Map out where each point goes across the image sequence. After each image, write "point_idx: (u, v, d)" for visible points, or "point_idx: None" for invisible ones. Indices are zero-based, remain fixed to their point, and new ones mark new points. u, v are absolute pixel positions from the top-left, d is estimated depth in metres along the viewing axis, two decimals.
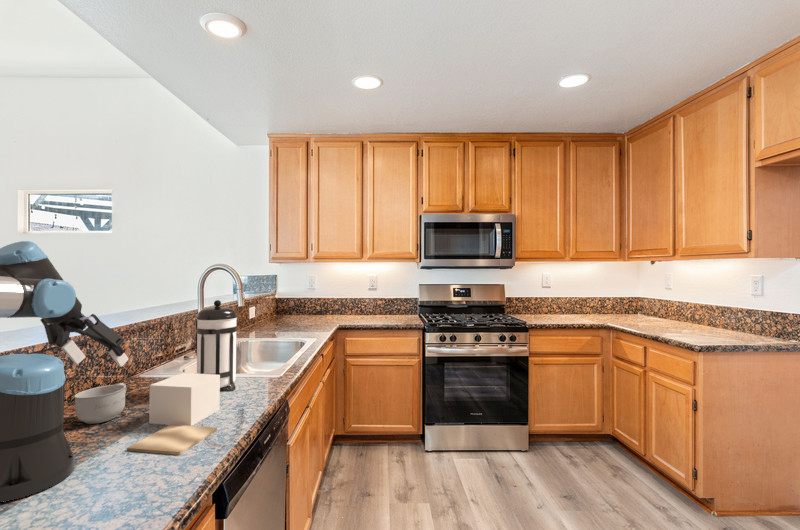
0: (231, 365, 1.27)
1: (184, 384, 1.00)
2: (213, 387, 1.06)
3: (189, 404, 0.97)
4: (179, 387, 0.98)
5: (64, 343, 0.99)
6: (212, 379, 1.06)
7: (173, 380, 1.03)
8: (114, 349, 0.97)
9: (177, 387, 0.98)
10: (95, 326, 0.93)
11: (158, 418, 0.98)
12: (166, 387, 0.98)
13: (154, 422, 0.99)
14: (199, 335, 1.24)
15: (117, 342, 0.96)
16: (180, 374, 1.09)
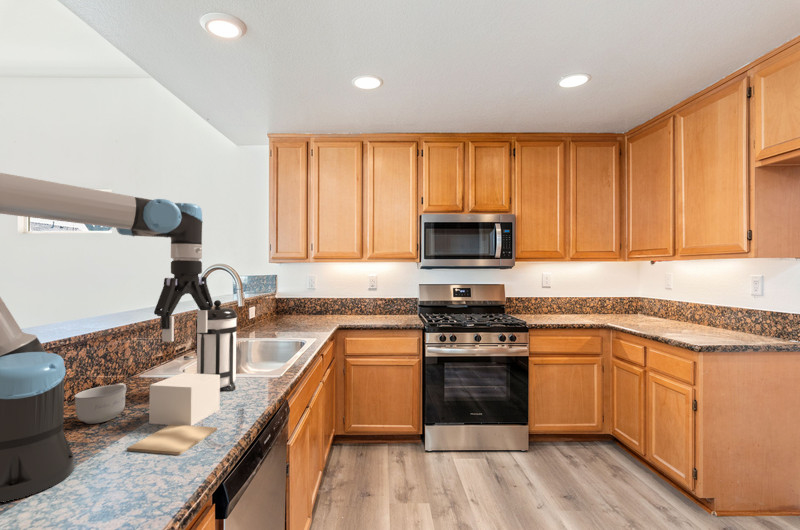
0: (231, 365, 1.27)
1: (184, 384, 1.00)
2: (213, 387, 1.06)
3: (189, 404, 0.97)
4: (179, 387, 0.98)
5: (202, 309, 1.11)
6: (212, 379, 1.06)
7: (173, 380, 1.03)
8: None
9: (177, 387, 0.98)
10: (165, 287, 0.97)
11: (158, 418, 0.98)
12: (166, 387, 0.98)
13: (154, 422, 0.99)
14: (199, 335, 1.24)
15: (157, 310, 0.95)
16: (180, 374, 1.09)
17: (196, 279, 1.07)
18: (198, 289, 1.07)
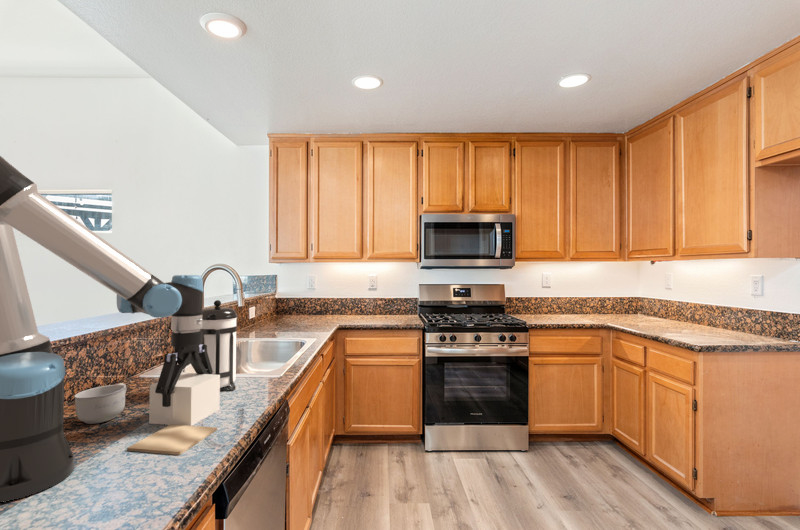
0: (231, 365, 1.27)
1: (184, 384, 1.00)
2: (213, 387, 1.06)
3: (189, 404, 0.97)
4: (179, 387, 0.98)
5: None
6: (212, 379, 1.06)
7: None
8: None
9: (177, 387, 0.98)
10: (165, 363, 0.97)
11: (158, 418, 0.98)
12: None
13: (154, 422, 0.99)
14: None
15: (159, 389, 0.95)
16: (180, 374, 1.09)
17: (196, 348, 1.07)
18: (198, 359, 1.06)
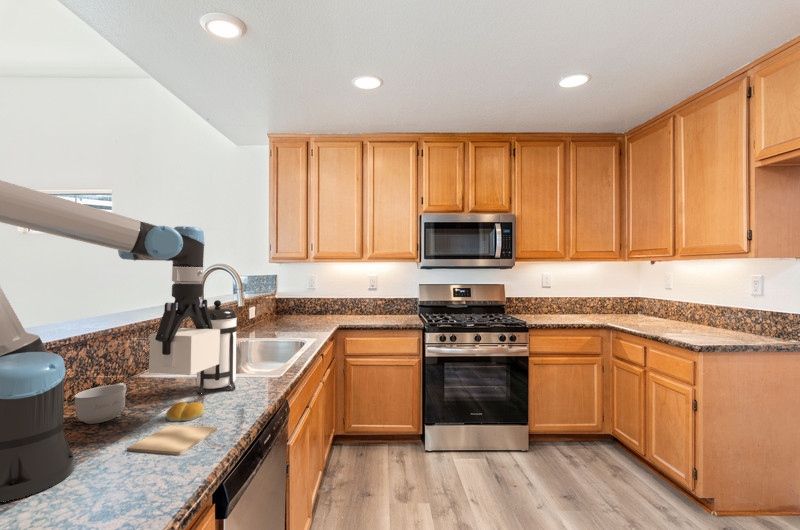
0: (231, 365, 1.27)
1: (184, 334, 1.00)
2: (213, 340, 1.06)
3: (189, 353, 0.97)
4: (179, 336, 0.98)
5: None
6: (212, 332, 1.06)
7: None
8: None
9: (177, 336, 0.98)
10: (166, 312, 0.97)
11: (158, 367, 0.99)
12: None
13: (154, 371, 0.99)
14: None
15: (159, 336, 0.95)
16: (180, 328, 1.09)
17: (197, 302, 1.07)
18: (198, 312, 1.07)
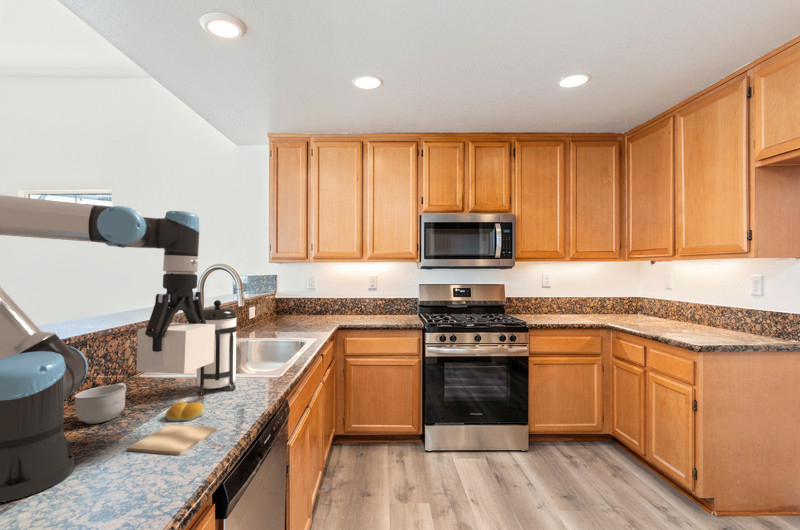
0: (231, 365, 1.27)
1: (177, 329, 0.91)
2: (208, 336, 0.98)
3: (183, 350, 0.89)
4: (172, 331, 0.89)
5: None
6: (207, 327, 0.97)
7: None
8: None
9: (169, 331, 0.89)
10: (157, 304, 0.88)
11: (147, 365, 0.89)
12: None
13: (142, 370, 0.89)
14: None
15: (149, 331, 0.86)
16: (170, 323, 1.00)
17: (190, 294, 0.98)
18: (192, 305, 0.98)
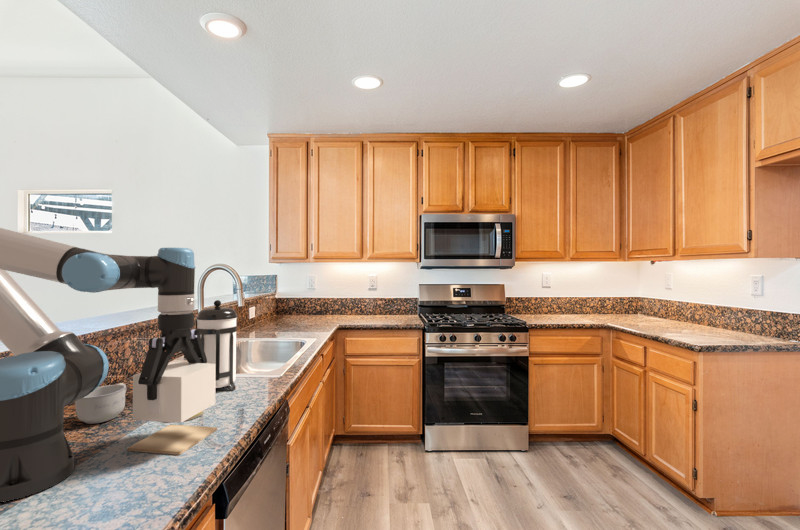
0: (231, 365, 1.27)
1: (173, 374, 0.85)
2: (208, 378, 0.92)
3: (179, 397, 0.83)
4: (167, 377, 0.84)
5: None
6: (206, 368, 0.91)
7: None
8: None
9: (165, 377, 0.84)
10: (150, 350, 0.83)
11: (143, 413, 0.84)
12: None
13: (138, 418, 0.84)
14: None
15: (142, 379, 0.81)
16: (170, 363, 0.95)
17: (188, 333, 0.92)
18: (190, 345, 0.92)
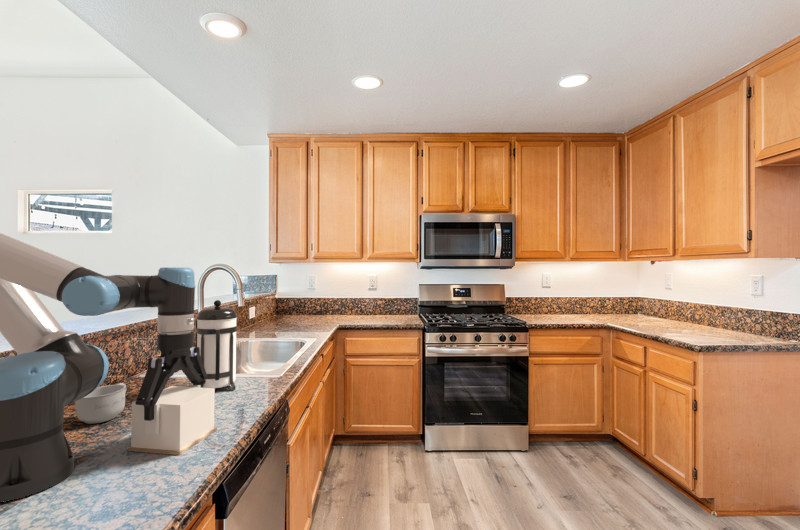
0: (231, 365, 1.27)
1: (172, 401, 0.85)
2: (207, 403, 0.92)
3: (178, 425, 0.83)
4: (166, 405, 0.83)
5: (194, 383, 0.97)
6: (205, 394, 0.91)
7: (160, 395, 0.89)
8: None
9: (164, 405, 0.83)
10: (149, 370, 0.83)
11: (142, 441, 0.84)
12: None
13: (137, 445, 0.84)
14: (199, 335, 1.24)
15: (140, 400, 0.80)
16: (169, 388, 0.95)
17: (187, 352, 0.92)
18: (189, 364, 0.92)
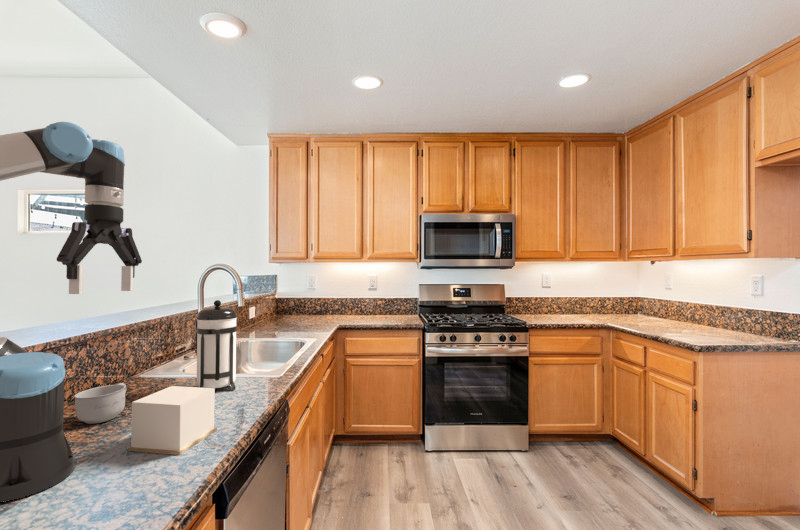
0: (231, 365, 1.27)
1: (172, 401, 0.85)
2: (207, 403, 0.92)
3: (178, 425, 0.83)
4: (166, 405, 0.83)
5: (127, 264, 0.99)
6: (205, 394, 0.91)
7: (160, 395, 0.89)
8: None
9: (164, 405, 0.83)
10: (72, 232, 0.86)
11: (142, 441, 0.84)
12: (151, 405, 0.84)
13: (137, 445, 0.84)
14: (199, 335, 1.24)
15: (61, 256, 0.83)
16: (169, 388, 0.95)
17: (117, 229, 0.95)
18: (119, 240, 0.95)
